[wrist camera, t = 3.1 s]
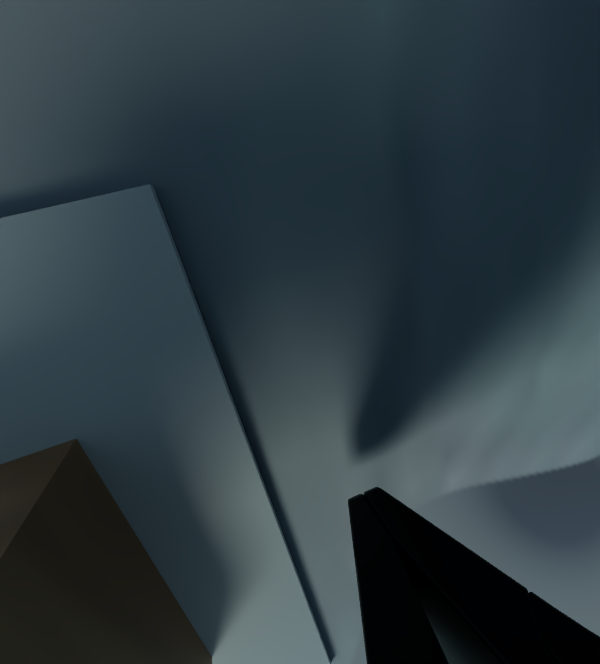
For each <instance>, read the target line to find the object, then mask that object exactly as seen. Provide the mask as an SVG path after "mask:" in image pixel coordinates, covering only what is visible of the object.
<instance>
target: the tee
mask: <svg viewBox="0 0 600 664" xmlns="http://www.w3.org/2000/svg"><path fill="white" fill-rule="evenodd" d="M0 664H212V656H211V655H210V653H209V652H208V650H207V648H206V647H205V645H204V644H203V642H202V640H201V639H200V637H199V635H198V634H197V632H196V631H195V629H194V627H193V626H192V624H191V623H190V621H189V619H188V618H187V616H186V614H185V613H184V611H183V610H182V608H181V606H180V605H179V603H178V602H177V600H176V598H175V597H174V595H173V594H172V592H171V590H170V589H169V587H168V585H167V584H166V582H165V581H164V579H163V577H162V576H161V574H160V573H159V571H158V569H157V568H156V566H155V564H154V563H153V561H152V560H151V558H150V556H149V555H148V553H147V552H146V550H145V548H144V547H143V545H142V543H141V542H140V540H139V539H138V537H137V535H136V534H135V532H134V531H133V529H132V527H131V526H130V524H129V522H128V521H127V519H126V518H125V516H124V514H123V513H122V511H121V510H120V508H119V506H118V505H117V503H116V501H115V500H114V498H113V497H112V495H111V493H110V492H109V490H108V489H107V487H106V485H105V484H104V482H103V481H102V479H101V477H100V476H99V474H98V472H97V471H96V469H95V468H94V466H93V464H92V463H91V461H90V460H89V458H88V456H87V455H86V453H85V451H84V450H83V448H82V447H81V445H80V443H79V442H78V440H77V439H73V440H70V441H67V442H64V443H62V444H59V445H56V446H53V447H50V448H47V449H44V450H41V451H38V452H35V453H32V454H29V455H27V456H24V457H21V458H18V459H15V460H12V461H9V462H6V463H3V464H0Z"/></svg>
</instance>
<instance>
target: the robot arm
mask: <svg viewBox="0 0 600 664" xmlns="http://www.w3.org/2000/svg"><path fill="white" fill-rule="evenodd" d="M348 507H349V515H350V524H351V532H352V541H353V549H354V558H355V566H356V575H357V583H358V592H359V600H360V609H361V617H362V626H363V634H364V643H365V651H366V660H367V664H600V637H599V636H598V635H596V634H594V633H593V632H591V631H589V630H588V629H586V628H585V627H583V626H582V625H580V624H579V623H577V622H576V621H574V620H573V619H571V618H570V617H568V616H567V615H565V614H564V613H562V612H561V611H559V610H558V609H556V608H554V607H553V606H552V605H550V604H549V603H547V602H546V601H544V600H543V599H541V598H540V597H539V596H537V595H536V594H534V593H533V592H529V593H528V590H527V589H526V588H525V587H524V586H522V585H521V584H519V583H518V582H516V581H515V580H514V579H512V578H511V577H509V576H508V575H506V574H505V573H503V572H502V571H500V570H499V569H498V568H496V567H495V566H493V565H492V564H490V563H489V562H487V561H486V560H484V559H483V558H481V557H480V556H479V555H477V554H476V553H474V552H473V551H471V550H470V549H468V548H467V547H465V546H464V545H463V544H461V543H460V542H458V541H457V540H455V539H454V538H452V537H451V536H449V535H448V534H447V533H445V532H443V531H442V530H441V529H439V528H438V527H436V526H434V525H433V524H432V523H430V522H429V521H428V520H426V519H425V518H423V517H422V516H420V515H419V514H417V513H416V512H414V511H413V510H412V509H410V508H409V507H407V506H406V505H404V504H403V503H401V502H400V501H398V500H397V499H396V498H394V497H393V496H391V495H390V494H388V493H387V492H385V491H384V490H382V489H381V488H379V487H375V488H373V489H370V490H368V491H366V492H364V495H363V494H359V495H356V496H354V497H352V498H350V499H349V500H348Z"/></svg>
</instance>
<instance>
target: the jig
mask: <svg viewBox="0 0 600 664" xmlns="http://www.w3.org/2000/svg"><path fill="white" fill-rule="evenodd" d="M73 439H77V440H78V442H79V443H80V445H81V447H82V448H83V450H84V451H85V453H86V455H87V456H88V458H89V460H90V461H91V463H92V464H93V466H94V468H95V469H96V471H97V472H98V474H99V476H100V477H101V479H102V481H103V482H104V484H105V485H106V487H107V489H108V490H109V492H110V493H111V495H112V497H113V498H114V500H115V501H116V503H117V505H118V506H119V508H120V510H121V511H122V513H123V514H124V516H125V518H126V519H127V521H128V522H129V524H130V526H131V527H132V529H133V531H134V532H135V534H136V535H137V537H138V539H139V540H140V542H141V543H142V545H143V547H144V548H145V550H146V552H147V553H148V555H149V556H150V558H151V560H152V561H153V563H154V564H155V566H156V568H157V569H158V571H159V573H160V574H161V576H162V577H163V579H164V581H165V582H166V584H167V585H168V587H169V589H170V590H171V592H172V594H173V595H174V597H175V598H176V600H177V602H178V603H179V605H180V606H181V608H182V610H183V611H184V613H185V614H186V616H187V618H188V619H189V621H190V623H191V624H192V626H193V627H194V629H195V631H196V632H197V634H198V635H199V637H200V639H201V640H202V642H203V644H204V645H205V647H206V648H207V650H208V652H209V653H210V655H211V656H212V664H331V661H330V658H329V656H328V653H327V650H326V648H325V645H324V642H323V640H322V637H321V634H320V632H319V629H318V626H317V624H316V621H315V618H314V616H313V613H312V610H311V607H310V605H309V602H308V599H307V597H306V594H305V591H304V589H303V586H302V583H301V581H300V578H299V575H298V573H297V570H296V567H295V565H294V562H293V559H292V557H291V554H290V551H289V548H288V546H287V543H286V540H285V538H284V535H283V532H282V530H281V527H280V524H279V522H278V519H277V516H276V514H275V511H274V508H273V506H272V503H271V500H270V498H269V495H268V492H267V489H266V487H265V484H264V481H263V479H262V476H261V473H260V471H259V468H258V465H257V463H256V460H255V457H254V455H253V452H252V449H251V447H250V444H249V441H248V439H247V436H246V433H245V430H244V428H243V425H242V422H241V420H240V417H239V414H238V412H237V409H236V406H235V404H234V401H233V398H232V396H231V393H230V390H229V388H228V385H227V382H226V379H225V377H224V374H223V371H222V369H221V366H220V363H219V361H218V358H217V355H216V353H215V350H214V347H213V345H212V342H211V339H210V337H209V334H208V331H207V329H206V326H205V323H204V320H203V318H202V315H201V312H200V310H199V307H198V304H197V302H196V299H195V296H194V294H193V291H192V288H191V286H190V283H189V280H188V278H187V275H186V272H185V270H184V267H183V264H182V261H181V259H180V256H179V253H178V251H177V248H176V245H175V243H174V240H173V237H172V235H171V232H170V229H169V227H168V224H167V221H166V219H165V216H164V213H163V211H162V208H161V205H160V202H159V200H158V197H157V194H156V192H155V189H154V187H153V186H152V185H150V184H148V185H143V186H139V187H134V188H130V189H126V190H121V191H117V192H113V193H108V194H104V195H99V196H95V197H91V198H86V199H82V200H78V201H73V202H69V203H64V204H60V205H56V206H51V207H47V208H43V209H38V210H34V211H29V212H25V213H21V214H16V215H12V216H7V217H3V218H0V464H3V463H6V462H9V461H12V460H15V459H18V458H21V457H24V456H27V455H29V454H32V453H35V452H38V451H41V450H44V449H47V448H50V447H53V446H56V445H59V444H62V443H64V442H67V441H70V440H73Z"/></svg>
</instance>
